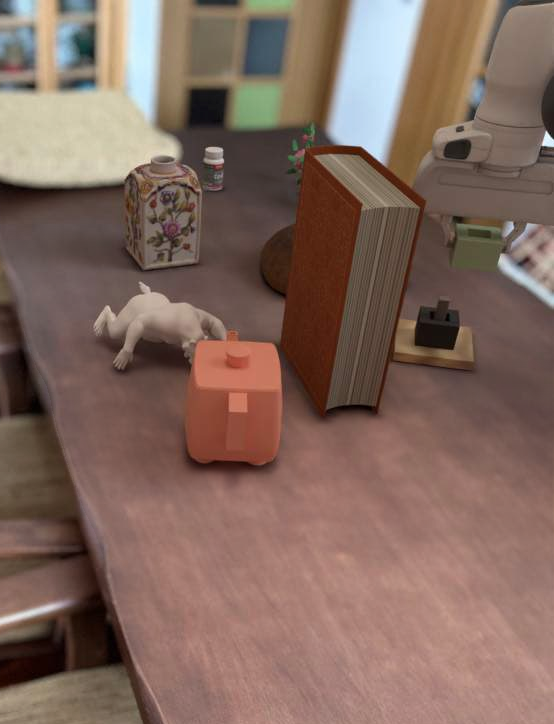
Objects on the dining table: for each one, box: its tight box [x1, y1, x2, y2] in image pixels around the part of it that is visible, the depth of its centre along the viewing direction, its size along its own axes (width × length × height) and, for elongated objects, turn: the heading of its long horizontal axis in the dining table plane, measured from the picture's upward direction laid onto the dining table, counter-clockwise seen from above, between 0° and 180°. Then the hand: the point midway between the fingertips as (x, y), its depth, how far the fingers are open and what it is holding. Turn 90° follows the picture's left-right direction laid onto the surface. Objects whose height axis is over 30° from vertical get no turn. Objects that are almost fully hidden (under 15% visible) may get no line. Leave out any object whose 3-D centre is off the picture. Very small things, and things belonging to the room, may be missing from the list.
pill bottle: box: [201, 146, 225, 192], centre depth 187 cm, size 5×5×8 cm
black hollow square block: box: [415, 305, 461, 350], centre depth 131 cm, size 6×6×4 cm
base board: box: [392, 295, 475, 371], centre depth 130 cm, size 12×12×8 cm
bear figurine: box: [92, 281, 228, 371], centre depth 128 cm, size 17×14×20 cm
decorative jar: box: [124, 154, 203, 272], centre depth 154 cm, size 12×12×18 cm
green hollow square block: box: [448, 223, 504, 273], centre depth 114 cm, size 6×6×4 cm
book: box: [279, 144, 426, 420], centre depth 116 cm, size 23×8×30 cm, turn 9°
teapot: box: [184, 330, 283, 466], centre depth 108 cm, size 22×13×14 cm, turn 177°
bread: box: [259, 223, 414, 295], centre depth 151 cm, size 28×27×9 cm
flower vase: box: [284, 122, 324, 186], centre depth 181 cm, size 12×12×35 cm
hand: (474, 249), depth 114 cm, fingers closed on green hollow square block, 6 cm apart
